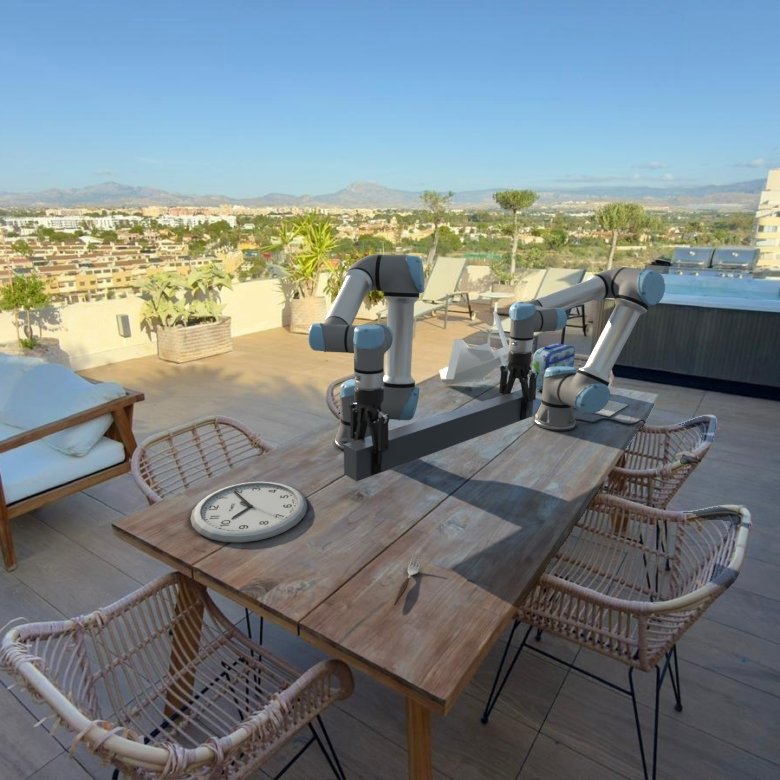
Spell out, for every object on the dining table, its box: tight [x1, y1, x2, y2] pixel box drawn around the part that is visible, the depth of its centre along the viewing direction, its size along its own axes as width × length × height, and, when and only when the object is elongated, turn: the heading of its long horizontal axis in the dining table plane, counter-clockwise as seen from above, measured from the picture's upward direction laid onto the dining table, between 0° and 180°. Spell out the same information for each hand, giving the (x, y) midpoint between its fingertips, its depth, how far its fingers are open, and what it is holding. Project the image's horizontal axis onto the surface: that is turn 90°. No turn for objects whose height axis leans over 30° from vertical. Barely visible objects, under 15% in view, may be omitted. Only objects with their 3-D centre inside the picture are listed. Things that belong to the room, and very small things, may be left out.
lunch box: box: [531, 343, 576, 391], centre depth 249 cm, size 26×11×21 cm, turn 134°
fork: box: [393, 553, 424, 606], centre depth 112 cm, size 3×16×2 cm, turn 160°
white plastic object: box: [438, 310, 516, 393], centre depth 245 cm, size 37×45×31 cm
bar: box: [343, 389, 534, 483], centre depth 159 cm, size 77×5×9 cm, turn 131°
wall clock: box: [190, 481, 308, 544], centre depth 139 cm, size 30×2×30 cm
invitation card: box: [595, 399, 629, 418], centre depth 226 cm, size 21×1×15 cm
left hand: (368, 468), depth 140 cm, fingers closed on bar, 5 cm apart
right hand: (515, 416), depth 180 cm, fingers closed on bar, 5 cm apart
